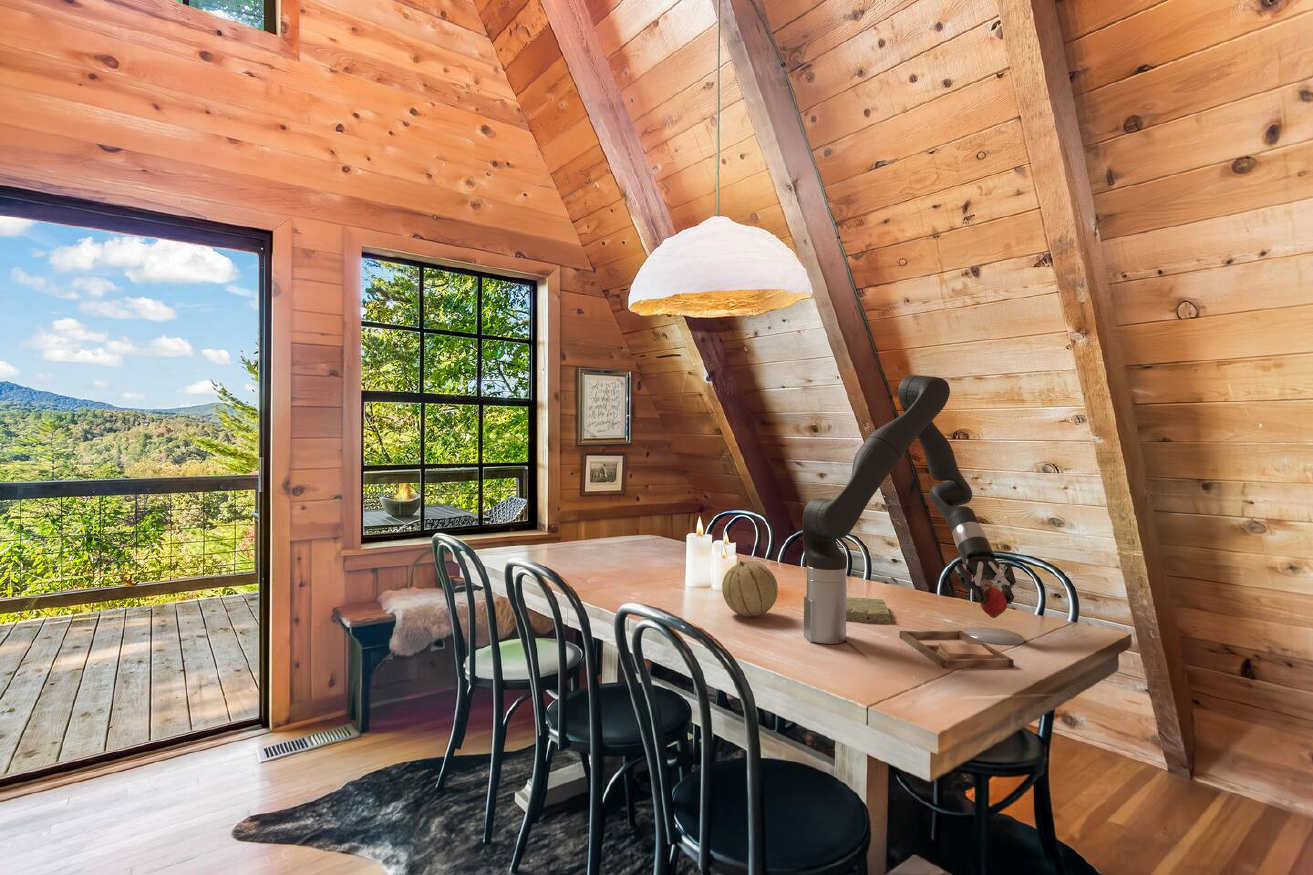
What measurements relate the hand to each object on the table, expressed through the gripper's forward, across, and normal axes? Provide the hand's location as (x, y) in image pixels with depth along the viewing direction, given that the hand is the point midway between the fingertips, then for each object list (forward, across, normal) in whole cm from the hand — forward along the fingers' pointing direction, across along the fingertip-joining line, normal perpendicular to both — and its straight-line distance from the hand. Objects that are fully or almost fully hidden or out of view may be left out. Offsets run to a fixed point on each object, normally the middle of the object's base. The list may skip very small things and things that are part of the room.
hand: (997, 601), depth 166 cm
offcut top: (+16, -16, -6) cm, 23 cm away
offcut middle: (+17, -16, -5) cm, 23 cm away
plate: (+5, 0, +8) cm, 9 cm away
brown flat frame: (+13, -16, 0) cm, 20 cm away
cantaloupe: (-11, -55, +24) cm, 61 cm away
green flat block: (-12, -27, +26) cm, 39 cm away
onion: (+2, 0, +4) cm, 5 cm away
